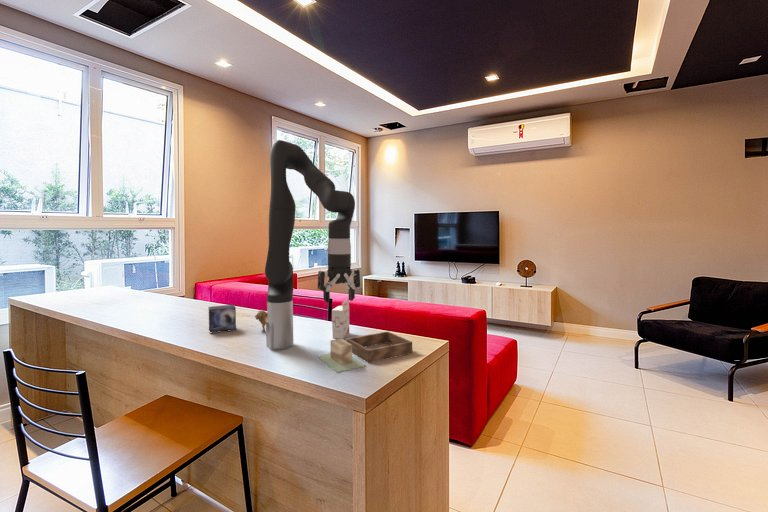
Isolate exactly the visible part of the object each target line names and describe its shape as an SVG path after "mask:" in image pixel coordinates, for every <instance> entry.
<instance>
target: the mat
mask: <svg viewBox="0 0 768 512" xmlns="http://www.w3.org/2000/svg"><path fill="white" fill-rule="evenodd" d="M317 358H318V359H319V360H320V361H322V362H323V363H324V364H326V365H327V366H329V367H330V368H331V369H332V368H333V369H332V370H334V371H335V372H336V371H337V373H342V372H346V370H347V371H350V370H355V369H359V368H363V366H364V367H367V364H366V363H364V362H363V361H361V360H359V359H358V358H356V357H354V356H353V355H352V363H349V364H344V365H340V364H339V363H337V362H336V361H334V360H333V359H332V358H331V353H328V354H322V355H321V354H320V355H317ZM341 371H342V372H341Z"/></svg>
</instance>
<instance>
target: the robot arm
mask: <svg viewBox="0 0 768 512" xmlns="http://www.w3.org/2000/svg"><path fill="white" fill-rule="evenodd" d="M269 154H270V155H269V157H270V159H269V165H270V169H269V170H270V194H269V195H270V197H269V209H268V211H269V212H268V249H267V255H266V260H265V261H266V262H265V266H264V274H265V277H266V279H267V280H268V281H267V282H268V283H267V284H268V287H267V294H266V312H267V321H266V325H265V335H266V337H265V339H266V346H267V348H268V349H269V350H271V351H272V350H285V349H289V348H292V347H293V346H294V307H293V306H294V304H293V303H294V302H293V296H294V295H293V294H294V268H293V264H292V262H291V261H290V246H291V240H292V237H293V233H294V229H295V228H294V227H295V221H296V209H297V208H296V203H295V199H294V196H293V194H292V192H291V190H290V188H289V186H288V185H289V184H288V182H287V169H288V170H293V171H296V172H297V173H299V174H301V175H302V176H303V180H304V183H305V185H306V186H307V187H308V189H309V190H310V191H311V192H313V194H315V195H316V197H317V198H318V200H319V202H320V204H321V205H322V207H323V208H324V209H325V210H327V212H330V213H337V216H336V219H334V220H330V221H329V223H328V225H327V226H328V237H327V238H328V241H327V251H326V252H327V271H324V270H318V274H317V289H318V290H320V291H322V293H323V301H324V302H325V303H326V304H330V303H331V302H330V297H331V296H330V295H331V293H330V290H331V288H332V287H334V285H335V284H336V285H339V284H346V286H347V287H348V301H349V302H350V301H352V302H353V301H354V299H355V297H356V296H355V295H356V294H355V293H356V291H355V290H356V289H357V288H360V287H361V274H360V270H359V269H358V268H353V269H351V267H352V245H351V224H352V222H353V217H354V212H355V209H356V200H355V197H354V196H353V194H352V193H351V192H349V191H346V190H345V191H344V190H338V189H337V190H336V185H335V182H334V181H332V180H331V178H329V177H328V176H327V175H326V174H324V172H322V171H321V169H320V168H318V167H317V166H316V165H315V164H314V162H313V161H312V159H311V158H309V156H308V154H307V153H306V151H304V149H303V148H302V147H301V146H300V145H298V144H296V143H292V142H290V141H285V140H282V139H281V140H280V139H277V140H276V141H274V142H273V143H272V145H271V148H270V153H269ZM351 276H352V277H353V280H352V279H351ZM327 277H328V279H326V278H327ZM325 280H326V283H325Z"/></svg>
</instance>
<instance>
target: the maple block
mask: <svg viewBox="0 0 768 512" xmlns="http://www.w3.org/2000/svg"><path fill="white" fill-rule="evenodd" d="M329 342H330V354H331V358H332V359H333V360H334V361H336V362H337V363H339V364H340V365H344V364H349V363H352V356H353V353H352V345H351V344H350V343H348V342H346V340H344V339H339V338H335V339H332V340H330V341H329Z"/></svg>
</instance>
